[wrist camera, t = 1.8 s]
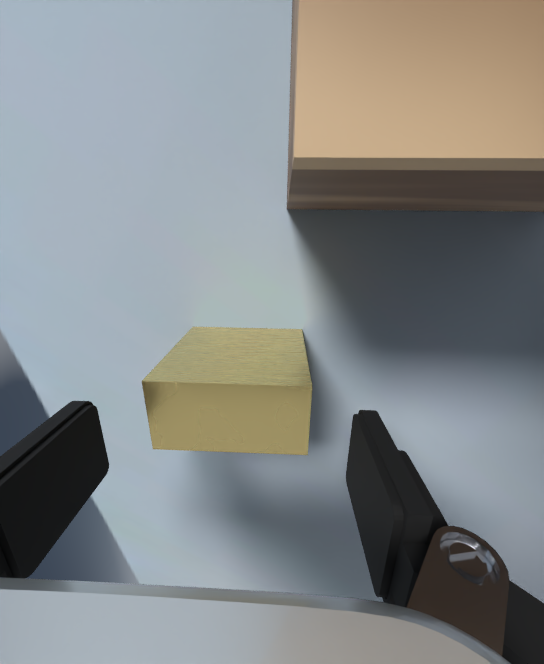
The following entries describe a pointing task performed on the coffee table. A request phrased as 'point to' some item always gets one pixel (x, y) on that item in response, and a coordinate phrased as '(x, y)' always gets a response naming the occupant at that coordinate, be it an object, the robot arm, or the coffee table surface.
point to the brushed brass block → (232, 392)
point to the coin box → (417, 105)
